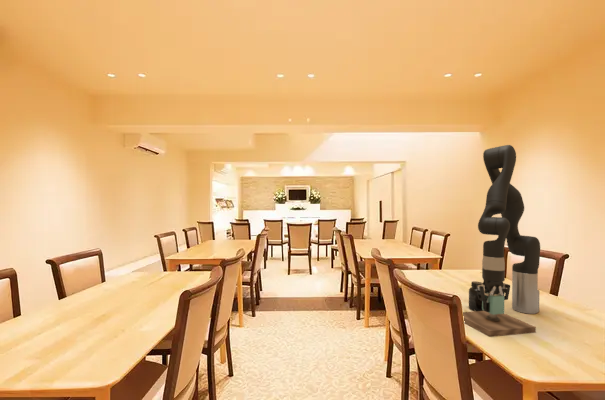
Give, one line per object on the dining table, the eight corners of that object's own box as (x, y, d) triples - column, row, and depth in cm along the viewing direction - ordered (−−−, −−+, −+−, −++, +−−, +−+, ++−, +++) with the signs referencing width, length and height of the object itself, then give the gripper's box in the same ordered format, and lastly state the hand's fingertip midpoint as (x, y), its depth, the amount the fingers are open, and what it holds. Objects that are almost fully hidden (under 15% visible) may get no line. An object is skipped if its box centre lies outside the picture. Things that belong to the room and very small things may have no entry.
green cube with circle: (493, 308, 123) (493, 291, 123) (504, 313, 118) (504, 295, 118) (482, 309, 122) (482, 292, 122) (492, 314, 117) (492, 296, 117)
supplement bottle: (488, 312, 133) (488, 285, 133) (471, 311, 134) (471, 284, 134) (482, 307, 140) (482, 281, 140) (466, 306, 141) (466, 280, 141)
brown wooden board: (495, 314, 131) (495, 293, 131) (535, 332, 113) (535, 308, 113) (454, 317, 127) (454, 296, 127) (489, 336, 109) (489, 312, 109)
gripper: (500, 265, 125) (500, 306, 125) (470, 266, 122) (470, 308, 122) (517, 269, 118) (516, 313, 118) (485, 270, 115) (484, 315, 115)
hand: (492, 310), depth 120 cm, fingers open, 5 cm apart
